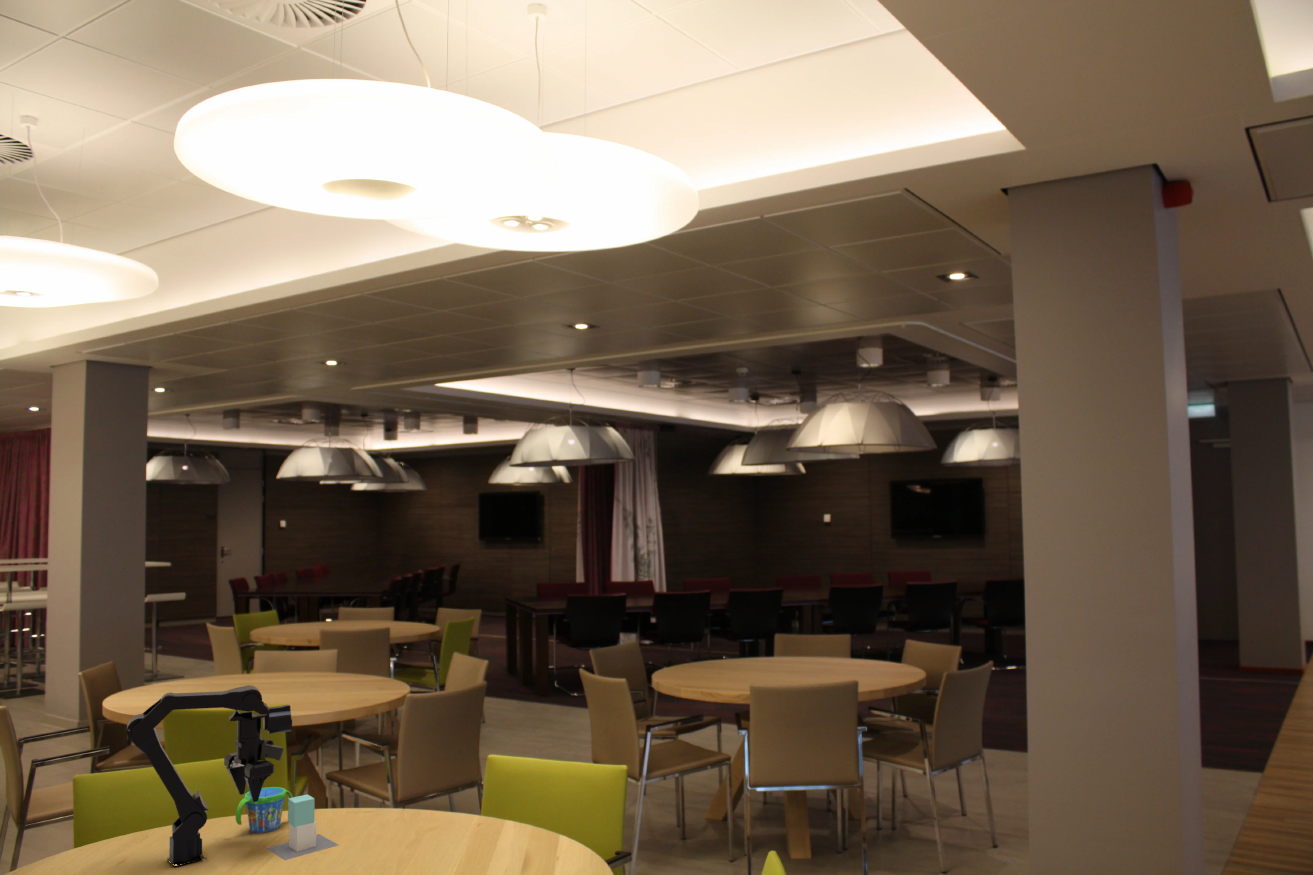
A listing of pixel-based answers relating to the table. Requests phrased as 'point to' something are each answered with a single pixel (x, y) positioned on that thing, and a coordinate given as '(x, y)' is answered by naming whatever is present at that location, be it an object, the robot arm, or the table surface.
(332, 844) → the mat
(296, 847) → the white block
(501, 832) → the table surface
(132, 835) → the table surface
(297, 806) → the teal block
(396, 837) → the table surface
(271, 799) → the snack cup
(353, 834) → the table surface
